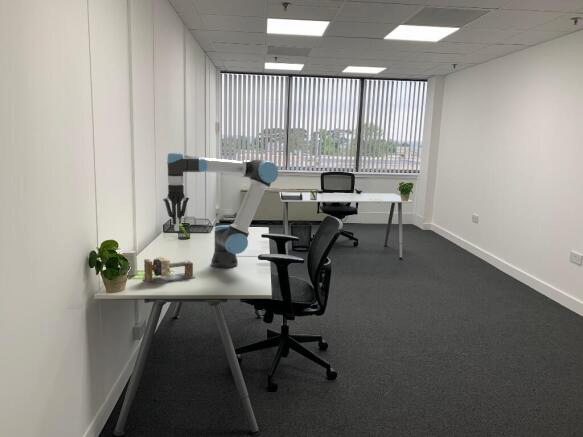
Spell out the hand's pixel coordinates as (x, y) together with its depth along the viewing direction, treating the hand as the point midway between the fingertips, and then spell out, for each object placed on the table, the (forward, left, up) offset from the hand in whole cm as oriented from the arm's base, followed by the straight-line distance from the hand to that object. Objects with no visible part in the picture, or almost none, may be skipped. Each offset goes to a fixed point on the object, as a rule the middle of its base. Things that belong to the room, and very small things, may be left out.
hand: (176, 230), depth 220 cm
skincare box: (+24, -7, -25) cm, 35 cm away
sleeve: (+7, +4, -22) cm, 23 cm away
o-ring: (+9, +5, -22) cm, 24 cm away
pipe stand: (+4, +3, -25) cm, 25 cm away
